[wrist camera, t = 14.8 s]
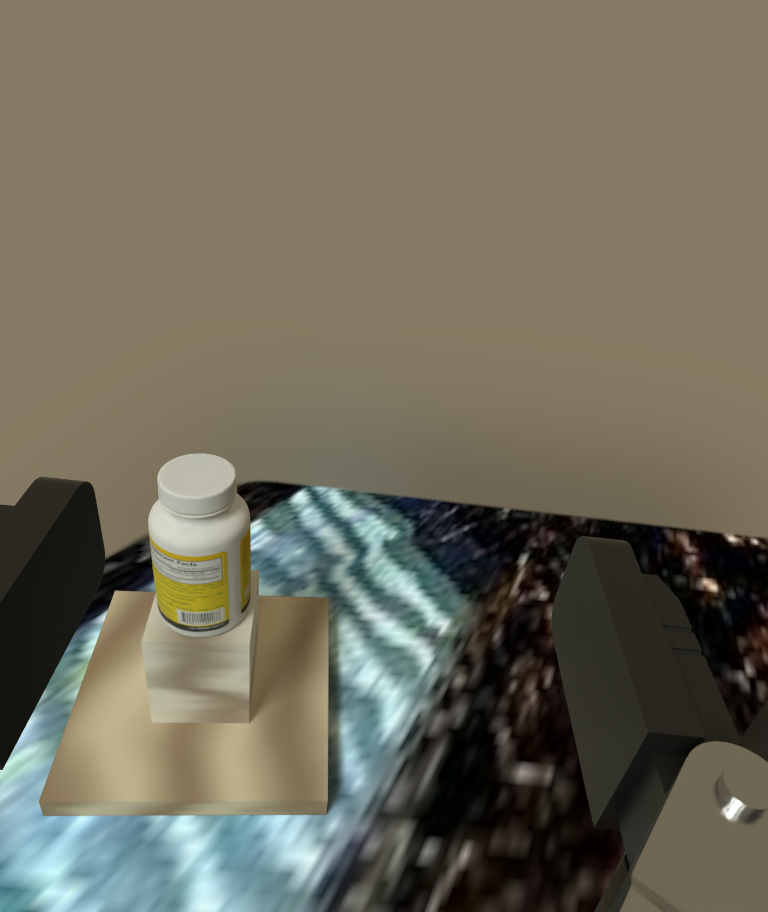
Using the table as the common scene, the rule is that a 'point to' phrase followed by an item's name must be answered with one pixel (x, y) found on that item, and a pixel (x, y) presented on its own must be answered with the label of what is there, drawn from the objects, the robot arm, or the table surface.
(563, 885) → the table surface
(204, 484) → the supplement bottle
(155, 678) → the pedestal
